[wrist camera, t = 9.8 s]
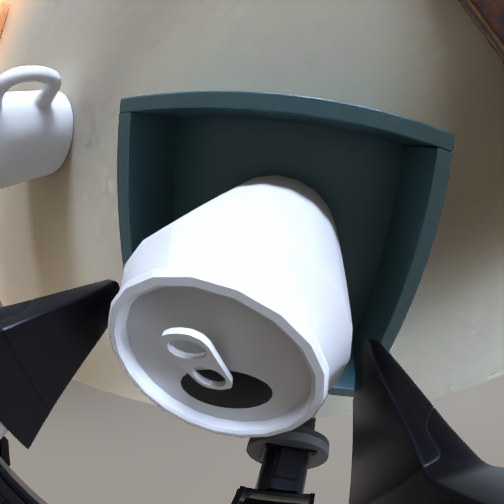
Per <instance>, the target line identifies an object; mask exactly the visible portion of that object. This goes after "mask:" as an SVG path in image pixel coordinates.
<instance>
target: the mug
mask: <svg viewBox="0 0 504 504" xmlns="http://www.w3.org/2000/svg"><path fill="white" fill-rule="evenodd" d="M29 81H37V82H43V83H45V85H44V87H43V88H42V90H41V91H18V92H7V91H8V90H9V89H10V88H11V87H12V86H14V85H16V84H19V83H23V82H29ZM60 86H61V78H60V75H59V74H58V73H57V72H56V71H55V70H53V69H50V68H48V67H44V66H21V67H16V68H13V69H10V70H8V71H6V72H4V73H3V74H1V75H0V189H2V188H5V187H8V186H11V185H14V184H17V183H20V182H24V181H27V180H31V179H35V178H39V177H43V176H47V175H50V174H52V173H54V172H55V171H57V170H58V169H59V168H60V167H61V166H62V164H63V163H64V161H65V159H66V157H67V155H68V152H69V149H70V146H71V141H72V135H73V113H72V108H71V105H70V102H69V100H68V99H67V97H66V96H65V95H64V94H63V93H61V92H59V89H60Z"/></svg>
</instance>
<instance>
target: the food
mask: <svg viewBox="0 0 504 504" xmlns="http://www.w3.org/2000/svg"><path fill="white" fill-rule="evenodd" d="M9 5H10V0H0V37H1V33H2V30H3V27H4V23H5V19H6V16H7V12H8V8H9Z"/></svg>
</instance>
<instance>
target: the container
mask: <svg viewBox="0 0 504 504" xmlns="http://www.w3.org/2000/svg"><path fill="white" fill-rule="evenodd" d="M459 1H460V2H461V4H462V5H463V6H464V8H465V9H466V10H467V12H468V13H469V14H470V16H471V17H472V19H473V20H474V21H475V23H476V24H477V26H478V27H479V28H480V30H481V31H482V32H483V33H484V35H485V36H486V37H487V39H488V40H489V41H490V43H491V44H492V46H493V47H494V48H495V50H496V51H497V53H498V54H499V56H500V57H501V59H502V60H503V62H504V0H459Z"/></svg>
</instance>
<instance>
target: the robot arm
mask: <svg viewBox="0 0 504 504" xmlns="http://www.w3.org/2000/svg"><path fill="white" fill-rule="evenodd" d="M118 292H119V284H118V283H117V282H116V281H113V280H104V281H100V282H96V283H93V284H89V285H85V286H81V287H78V288H74V289H70V290H66V291H63V292H59V293H55V294H51V295H48V296H44V297H40V298H36V299H33V300H29V301H25V302H21V303H18V304H14V305H9V306H4V307H0V504H47V503H46V502H45V501H44V500H43V499H42V498H40V497H39V496H38V495H37V494H36V493H35V492H34V491H33V490H31V489H30V488H29V487H28V486H27V485H26V484H25V483H24V482H23V481H22V480H21V479H20V478H19V477H18V476H17V475H16V474H15V473H14V471H12V469H11V468H10V467H9V466H10V458H9V445H8V440H7V439H6V437H5V436H4V435H5V434H6V432H7V431H8V430H9V431H10V432H11V433H12V434H13V435H14V436H15V437H16V438H17V439H18V440H19V441H20V442H21V443H22V444H23V445H24V446H25V447H26V448H27V449H29V447H30V446H31V444H32V442H33V441H34V439H35V437H36V435H37V434H38V432H39V430H40V428H41V427H42V425H43V423H44V422H45V420H46V418H47V417H48V415H49V414H50V411H51V410H52V408H53V407H54V405H55V403H56V402H57V400H58V399H59V397H60V395H61V394H62V393H63V391H64V390H65V388H66V387H67V385H68V384H69V382H70V380H71V379H72V378H73V376H74V375H75V373H76V372H77V370H78V369H79V367H80V366H81V364H82V363H83V362H84V360H85V359H86V357H87V356H88V354H89V353H90V352H91V350H92V349H93V347H94V346H95V345H96V343H97V342H98V341H99V339H100V338H101V336H102V335H103V333H104V332H105V330H106V328H107V327H108V319H109V313H110V307H111V302H112V300H113V299H114V298H115V296H116V295H117V294H118ZM317 452H318V451H316V450H310V449H302V448H295V447H289V446H283V445H277V444H271V443H265V444H264V447H263V450H262V453H261V456H260V459H259V462H260V463H262V466H261V469H260V473H259V476H258V480H257V483H256V487H255V489H252V488H246V487H244V486H240V488H239V489H237V492H236V495H235V497H234V499H233V501H232V503H231V504H313V503H314V497H315V494H314V493H311V494H303V492H304V487H305V481H306V475H307V469H308V466H309V464H310V463H311V462H312V461H313V459H314V458H315V457H316V455H317ZM349 504H504V468H502V467H495V466H492V465H489V464H486V463H485V462H484V461H482V460H481V459H480V458H479V457H478V456H477V455H476V454H475V453H474V452H473V451H472V450H471V449H470V448H469V447H468V446H467V444H466V443H465V442H463V440H462V439H461V438H460V437H459V436H458V435H457V434H456V433H455V432H454V430H453V429H452V428H451V427H450V426H449V425H448V424H447V422H446V421H445V420H444V419H443V417H442V416H441V415H440V414H439V413H438V411H437V410H436V409H435V408H433V405H432V404H431V403H430V401H429V400H428V399H427V398H426V396H425V395H424V394H423V393H422V391H421V390H420V389H419V388H418V387H417V385H416V384H415V383H414V382H413V380H412V379H411V378H410V377H409V376H408V374H407V373H406V372H405V371H404V370H403V368H402V367H401V366H400V365H399V364H398V363H397V361H396V360H395V359H394V358H393V357H392V355H391V354H390V353H389V352H388V351H387V350H386V348H385V347H384V346H383V345H382V344H381V343H380V341H379V340H377V339H369V338H367V339H366V340H365V341H364V343H363V346H362V348H361V350H360V352H359V354H358V357H357V361H356V372H355V384H354V395H353V451H352V471H351V485H350V497H349Z"/></svg>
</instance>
